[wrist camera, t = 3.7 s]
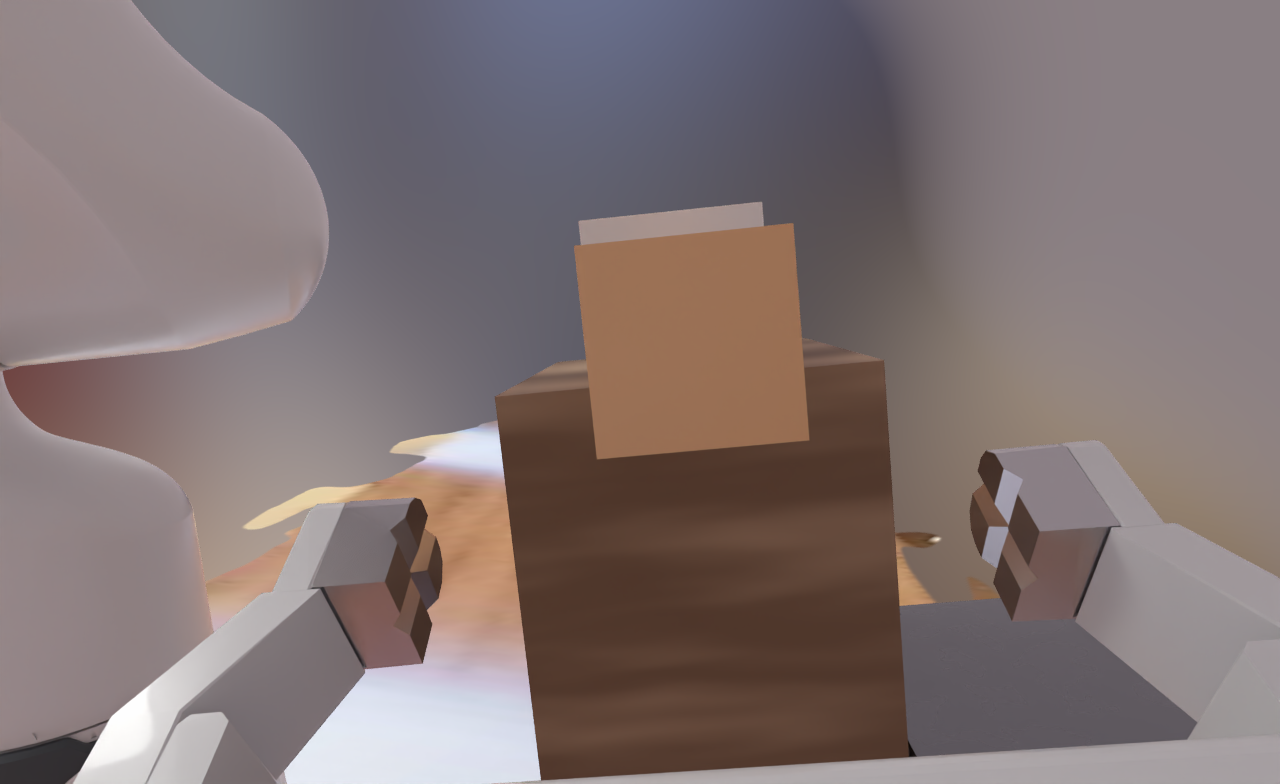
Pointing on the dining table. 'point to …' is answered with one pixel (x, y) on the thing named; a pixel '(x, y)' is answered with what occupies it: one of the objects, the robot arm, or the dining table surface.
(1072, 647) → the block
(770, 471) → the tall wood-grain pillar
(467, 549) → the dining table surface
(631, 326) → the wooden handled mallet
